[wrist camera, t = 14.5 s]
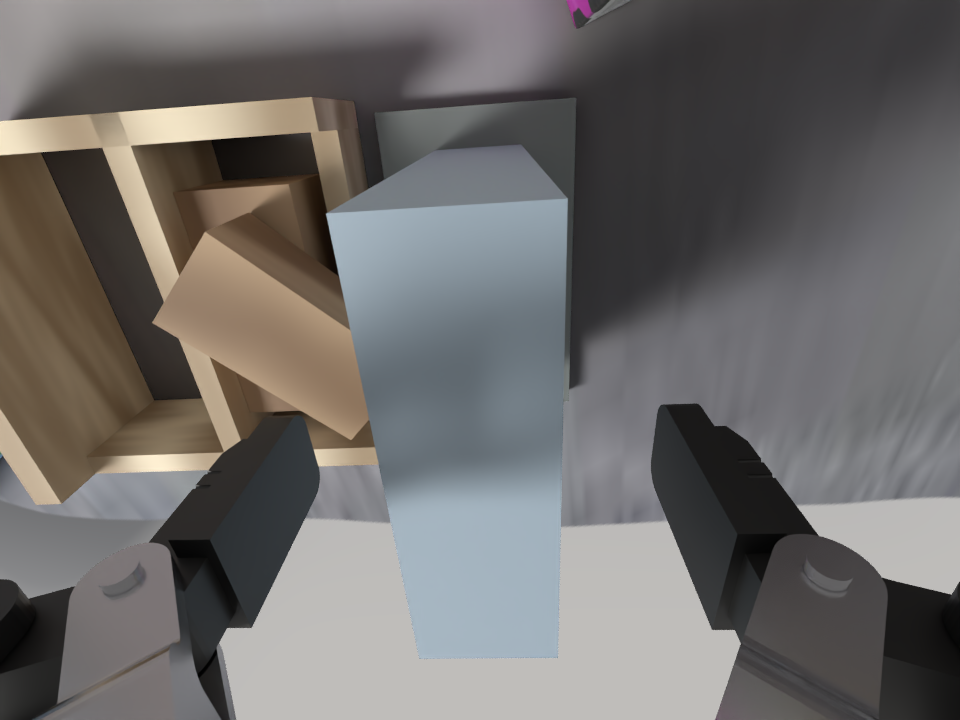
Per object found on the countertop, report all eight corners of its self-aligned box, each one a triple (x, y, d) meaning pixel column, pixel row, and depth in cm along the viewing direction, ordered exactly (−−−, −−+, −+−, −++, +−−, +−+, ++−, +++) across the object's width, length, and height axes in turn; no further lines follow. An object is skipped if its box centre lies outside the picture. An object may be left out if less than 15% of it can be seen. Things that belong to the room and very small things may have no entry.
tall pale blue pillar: (521, 144, 19) (568, 198, 7) (526, 378, 24) (557, 657, 12) (435, 150, 19) (325, 213, 7) (458, 381, 24) (419, 658, 12)
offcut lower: (323, 172, 21) (288, 184, 17) (363, 368, 26) (342, 408, 22) (226, 179, 21) (172, 192, 18) (283, 371, 26) (249, 412, 22)
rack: (353, 100, 19) (286, 94, 13) (404, 405, 26) (376, 494, 20) (2, 128, 20) (-216, 134, 14) (140, 415, 27) (36, 504, 21)
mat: (572, 98, 19) (576, 97, 18) (566, 391, 26) (568, 401, 25) (379, 112, 20) (374, 112, 19) (421, 397, 26) (418, 407, 25)
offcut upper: (248, 212, 18) (205, 231, 15) (418, 333, 20) (410, 371, 17) (201, 289, 19) (152, 322, 16) (366, 394, 22) (350, 440, 19)
